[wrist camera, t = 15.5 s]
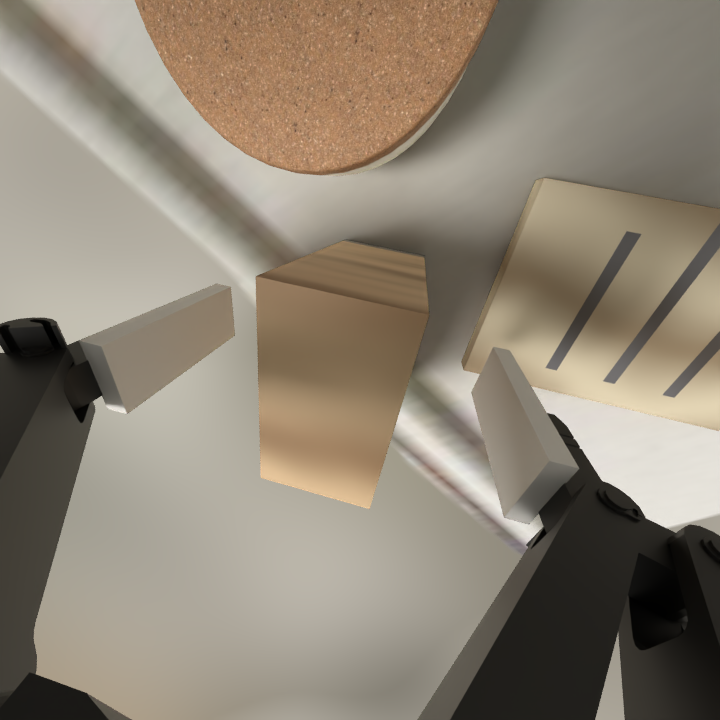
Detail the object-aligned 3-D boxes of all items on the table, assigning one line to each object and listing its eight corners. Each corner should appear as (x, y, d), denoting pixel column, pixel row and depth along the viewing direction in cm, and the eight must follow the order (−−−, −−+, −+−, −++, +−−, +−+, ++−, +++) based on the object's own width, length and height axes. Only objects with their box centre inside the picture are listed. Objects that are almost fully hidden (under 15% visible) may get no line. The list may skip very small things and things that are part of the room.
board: (535, 180, 14) (544, 177, 13) (885, 242, 13) (927, 245, 12) (461, 361, 20) (463, 370, 19) (701, 418, 18) (718, 430, 17)
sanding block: (345, 239, 17) (255, 276, 8) (424, 255, 17) (429, 315, 7) (329, 361, 22) (261, 477, 12) (391, 376, 21) (369, 509, 12)
